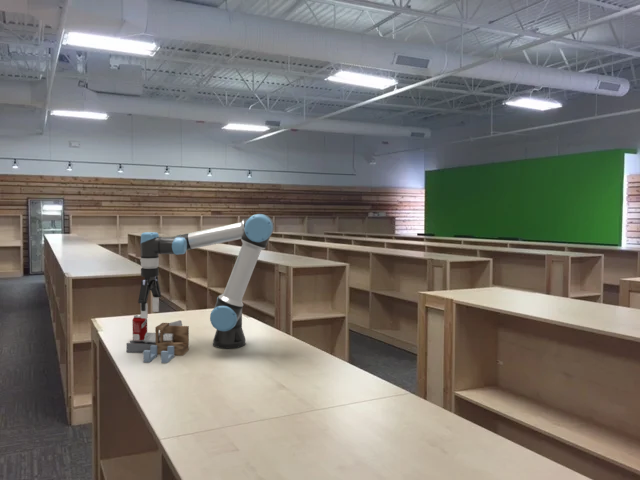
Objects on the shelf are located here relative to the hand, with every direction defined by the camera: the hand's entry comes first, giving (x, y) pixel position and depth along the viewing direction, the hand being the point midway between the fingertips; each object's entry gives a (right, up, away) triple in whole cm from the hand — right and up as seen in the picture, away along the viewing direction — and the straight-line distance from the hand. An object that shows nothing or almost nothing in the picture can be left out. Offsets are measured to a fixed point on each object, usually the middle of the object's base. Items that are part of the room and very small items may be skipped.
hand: (150, 314), depth 239 cm
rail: (-3, -16, +1) cm, 17 cm away
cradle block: (+7, -17, -10) cm, 21 cm away
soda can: (-11, -15, +20) cm, 27 cm away
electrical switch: (+5, -15, +21) cm, 26 cm away
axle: (+4, -13, 0) cm, 14 cm away
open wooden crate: (+10, -17, +1) cm, 19 cm away
